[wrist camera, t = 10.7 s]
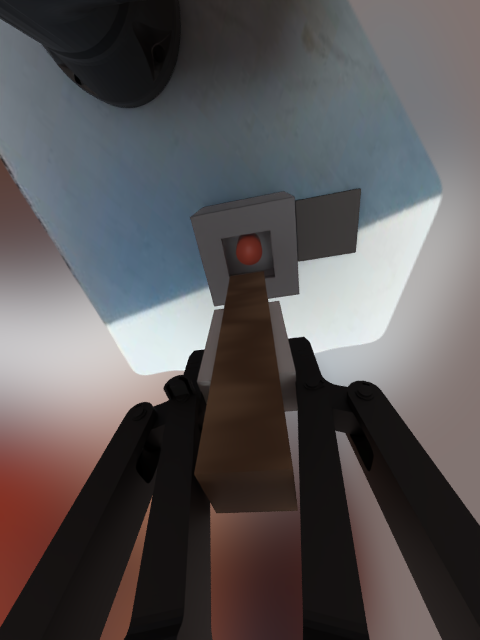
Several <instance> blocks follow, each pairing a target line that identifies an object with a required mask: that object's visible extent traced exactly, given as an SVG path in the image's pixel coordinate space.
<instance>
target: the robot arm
mask: <svg viewBox="0 0 480 640" xmlns="http://www.w3.org/2000/svg"><path fill="white" fill-rule="evenodd" d="M0 19H2V20H3V21H5V22H7V23H8V24H10V25H11V26H13V27H15V28H16V29H18V30H20V31H21V32H23V33H24V34H26V35H28V36H29V37H31V38H33V39H34V40H36V41H38V42H39V43H41V44H42V45H43V47H44V48H45V49H46V51H47V52H48V53H49V54H50V56H51V57H52V58H53V59H54V61H55V62H56V63H57V65H58V66H59V67H60V68H61V69H62V70H63V72H64V73H65V74H66V75H67V76H68V77H69V78H70V79H71V80H72V81H73V82H74V83H76V84H77V85H78V86H79V87H80V88H82V89H83V90H84V91H86V92H87V93H89V94H90V95H92V96H94V97H96V98H98V99H100V100H102V101H104V102H106V103H108V104H111V105H114V106H118V107H125V108H130V107H137V106H141V105H144V104H146V103H148V102H150V101H151V100H153V99H154V98H155V97H156V96H157V95H158V94H159V93H160V92H161V91H162V90H163V89H164V87H165V86H166V84H167V83H168V81H169V79H170V77H171V75H172V73H173V70H174V67H175V64H176V61H177V56H178V51H179V44H180V27H181V25H180V9H179V2H178V0H0ZM268 303H269V310H270V317H271V324H272V330H273V337H274V344H275V351H276V357H277V364H278V371H279V378H280V385H281V391H282V398H283V405H284V412H285V411H297V410H298V440H299V476H300V477H299V478H300V514H301V556H302V593H303V594H302V595H303V640H370V639H369V634H368V630H367V623H366V617H365V611H364V604H363V599H362V592H361V586H360V580H359V574H358V568H357V562H356V556H355V550H354V543H353V537H352V531H351V525H350V519H349V513H348V507H347V500H346V495H345V488H344V483H343V476H342V470H341V463H340V457H339V451H338V445H337V439H336V433H335V431H340V432H344V433H346V435H347V437H348V440H349V442H350V444H351V446H352V448H353V450H354V453H355V455H356V457H357V459H358V461H359V463H360V465H361V467H362V469H363V472H364V474H365V476H366V478H367V480H368V482H369V485H370V487H371V489H372V491H373V493H374V495H375V497H376V499H377V502H378V504H379V506H380V508H381V510H382V512H383V514H384V516H385V519H386V521H387V523H388V525H389V527H390V529H391V531H392V534H393V536H394V538H395V540H396V542H397V544H398V546H399V549H400V551H401V553H402V555H403V557H404V559H405V561H406V563H407V566H408V568H409V570H410V572H411V574H412V576H413V578H414V580H415V583H416V585H417V587H418V589H419V591H420V593H421V596H422V598H423V600H424V602H425V604H426V606H427V608H428V610H429V613H430V615H431V617H432V619H433V621H434V623H435V625H436V628H437V629H438V632H439V634H440V636H441V638H442V640H480V525H479V524H478V523H477V522H476V520H475V519H474V518H473V516H472V514H471V513H470V512H469V510H468V509H467V508H466V506H465V505H464V504H463V502H462V501H461V499H460V498H459V497H458V495H457V494H456V493H455V491H454V490H453V488H452V487H451V486H450V484H449V483H448V482H447V480H446V479H445V477H444V476H443V475H442V473H441V472H440V471H439V469H438V468H437V466H436V465H435V464H434V462H433V461H432V460H431V458H430V457H429V455H428V454H427V453H426V451H425V450H424V449H423V447H422V446H421V444H420V443H419V442H418V440H417V439H416V438H415V436H414V435H413V433H412V432H411V431H410V429H409V428H408V427H407V425H406V424H405V423H404V421H403V420H402V418H401V417H400V416H399V414H398V413H397V412H396V410H395V409H394V408H393V406H392V405H391V403H390V402H389V401H388V399H387V398H386V396H385V395H384V394H383V392H382V391H381V390H380V389H379V388H378V387H377V386H376V385H374V384H372V383H370V382H366V381H355V382H353V383H351V384H350V385H349V386H348V387H344V386H338V385H334V384H332V383H329V382H328V381H326V380H325V379H324V378H323V377H322V375H321V372H320V370H319V367H318V364H317V361H316V358H315V356H314V353H313V350H312V347H311V344H310V342H309V341H308V340H307V339H306V338H305V337H299V338H290V339H288V337H287V333H286V328H285V324H284V320H283V315H282V311H281V307H280V303H279V301H274V302H268ZM223 312H224V309H218V310H214V314H213V318H212V322H211V326H210V330H209V334H208V338H207V342H206V346H205V349H204V350H196V351H194V352H193V353H192V354H191V355H190V356H189V359H188V362H187V365H186V368H185V369H186V370H185V372H184V375H178V376H175V377H173V378H172V379H170V380H169V381H168V382H167V383H166V384H165V386H164V391H165V392H166V395H167V397H168V398H169V400H168V401H167V402H164V403H162V404H159V405H156V406H154V407H153V406H152V404H150V403H148V402H143V403H139V404H137V405H135V406H134V407H132V408H131V409H130V410H129V411H128V413H127V414H126V416H125V417H124V419H123V421H122V422H121V424H120V426H119V427H118V429H117V431H116V433H115V434H114V436H113V438H112V439H111V441H110V443H109V444H108V446H107V448H106V449H105V451H104V453H103V455H102V456H101V458H100V460H99V461H98V463H97V465H96V466H95V468H94V470H93V472H92V473H91V475H90V477H89V478H88V480H87V482H86V483H85V485H84V487H83V488H82V490H81V492H80V493H79V495H78V497H77V498H76V500H75V502H74V504H73V506H72V507H71V509H70V511H69V512H68V514H67V515H66V517H65V519H64V521H63V522H62V524H61V526H60V527H59V529H58V531H57V532H56V534H55V536H54V538H53V539H52V541H51V543H50V544H49V546H48V548H47V549H46V551H45V553H44V555H43V556H42V558H41V559H40V561H39V563H38V565H37V566H36V568H35V570H34V571H33V573H32V575H31V576H30V578H29V580H28V582H27V583H26V585H25V587H24V588H23V590H22V592H21V593H20V595H19V597H18V599H17V600H16V602H15V604H14V605H13V607H12V609H11V610H10V612H9V614H8V615H7V617H6V619H5V620H4V622H3V624H2V626H1V627H0V640H100V637H101V634H102V631H103V629H104V626H105V623H106V621H107V618H108V615H109V612H110V610H111V607H112V604H113V601H114V598H115V596H116V593H117V591H118V588H119V585H120V582H121V580H122V576H123V574H124V571H125V569H126V566H127V563H128V561H129V558H130V555H131V552H132V550H133V547H134V544H135V541H136V539H137V536H138V533H139V530H140V528H141V525H142V522H143V520H144V516H145V514H146V511H147V508H148V506H149V503H150V500H151V498H152V502H151V508H150V514H149V519H148V525H147V531H146V537H145V542H144V548H143V554H142V560H141V565H140V571H139V577H138V582H137V588H136V595H135V600H134V605H133V612H132V617H131V622H130V626H129V629H128V632H127V635H126V637H125V638H124V640H212V633H211V572H210V571H211V568H210V567H211V566H210V563H211V562H210V501H209V499H208V498H207V496H206V494H205V492H204V491H203V489H202V487H201V485H200V484H199V482H198V480H197V478H196V477H195V475H194V472H195V467H196V461H197V456H198V450H199V444H200V439H201V433H202V428H203V422H204V417H205V411H206V406H207V400H208V395H209V389H210V384H211V378H212V373H213V367H214V362H215V356H216V351H217V345H218V340H219V334H220V329H221V323H222V317H223ZM152 495H153V497H152Z"/></svg>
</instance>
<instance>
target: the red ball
mask: <svg viewBox="0 0 480 640" xmlns="http://www.w3.org/2000/svg"><path fill="white" fill-rule="evenodd" d="M236 256H237V258H238V260H239V261H240V262H241V263H243V264H245V265H253V264H256V263H257V262H258V261H259V260H260V259H261V256H262V246H261V241H260V238H259V236H258V235H257V234H255V233H251V234H245V235H241V236H240V237H239V239H238V242H237V248H236Z"/></svg>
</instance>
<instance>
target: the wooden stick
mask: <svg viewBox="0 0 480 640" xmlns="http://www.w3.org/2000/svg"><path fill="white" fill-rule="evenodd" d="M194 475H195V477H196V478H197V480H198V482H199V484H200V485H201V487H202V489H203V491H204V492H205V494H206V496H207V498H208V499H209V501H210V503H211V504H212V506H213V508H214V510H215V511H216V513H238V512H270V511H297V510H298V509H297V499H296V491H295V484H294V483H295V482H294V475H293V466H292V459H291V452H290V446H289V439H288V432H287V426H286V419H285V412H284V405H283V398H282V391H281V385H280V378H279V371H278V364H277V357H276V351H275V344H274V337H273V330H272V324H271V317H270V310H269V303H268V297H267V290H266V283H265V276H264V271H260V272H254V273H248V274H241V275H235V276H230V279H229V284H228V290H227V295H226V301H225V306H224V312H223V317H222V323H221V329H220V334H219V340H218V345H217V351H216V356H215V362H214V367H213V373H212V378H211V384H210V389H209V395H208V400H207V406H206V411H205V417H204V422H203V428H202V433H201V439H200V444H199V450H198V456H197V461H196V467H195V472H194Z"/></svg>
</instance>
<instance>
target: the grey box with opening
mask: <svg viewBox="0 0 480 640" xmlns="http://www.w3.org/2000/svg"><path fill="white" fill-rule="evenodd" d="M190 219H191V222H192V226H193V230H194V233H195V237H196V241H197V244H198V248H199V252H200V255H201V259H202V263H203V267H204V270H205V274H206V278H207V281H208V285H209V289H210V292H211V296H212V300H213V303H214V306H221V305H225V301H226V295H227V290H228V284H229V279H230V276H235V275H241V274H248V273H254V272H260V271H264V276H265V283H266V290H267V297H268V299H269V298H276V297H283V296H290V295H297V294H299V278H298V258H297V238H296V217H295V197H294V196H292V195H290V194H288V193H286V192H284V191H283V192H278V193H273V194H268V195H263V196H258V197H253V198H248V199H243V200H237V201H232V202H227V203H222V204H217V205H212V206H207V207H203V208H202V209H200V210H199V211H198V212H196V213H195V214H194V215H192V216H191V217H190ZM251 233H255V234H257V235H258V236H259V238H260V241H261V246H262V256H261V259H260V260H259V261H258V262H257V263H256V264H253V265H245V264H243V263H241V262H240V261H239V260H238V258H237V256H236V248H237V242H238V239H239V237H240V236H241V235H245V234H251Z"/></svg>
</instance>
